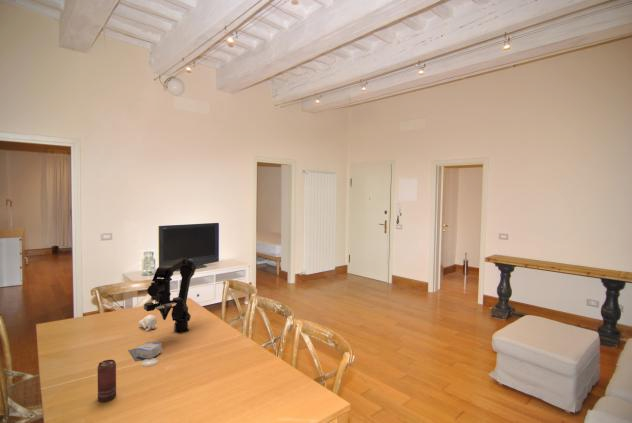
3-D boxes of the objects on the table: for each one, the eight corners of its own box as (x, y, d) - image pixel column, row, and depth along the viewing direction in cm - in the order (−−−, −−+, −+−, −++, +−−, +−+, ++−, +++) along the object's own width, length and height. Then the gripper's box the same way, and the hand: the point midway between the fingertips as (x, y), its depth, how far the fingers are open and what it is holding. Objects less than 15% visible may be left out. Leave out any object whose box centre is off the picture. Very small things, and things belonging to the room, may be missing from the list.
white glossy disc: (155, 358, 169) (155, 356, 169) (159, 364, 164) (159, 362, 164) (139, 363, 164) (139, 360, 164) (143, 369, 159) (143, 366, 159)
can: (102, 393, 139) (102, 359, 138) (118, 393, 139) (118, 358, 138) (93, 402, 133) (93, 366, 132) (111, 402, 133) (111, 366, 132)
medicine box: (161, 343, 174) (149, 350, 166) (162, 351, 174) (150, 359, 166) (148, 341, 176) (135, 348, 168) (148, 350, 176) (135, 358, 168)
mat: (149, 345, 182) (149, 344, 182) (157, 355, 172) (157, 354, 172) (128, 350, 176) (128, 350, 176) (135, 361, 165) (135, 360, 165)
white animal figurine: (148, 317, 199) (134, 315, 204) (149, 332, 199) (135, 329, 204) (157, 314, 204) (144, 312, 210) (158, 328, 204) (145, 326, 210)
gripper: (176, 284, 196) (176, 311, 197) (140, 290, 183) (140, 319, 184) (184, 288, 188) (184, 317, 189) (147, 295, 175) (147, 325, 176)
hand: (164, 319), depth 185 cm, fingers closed
